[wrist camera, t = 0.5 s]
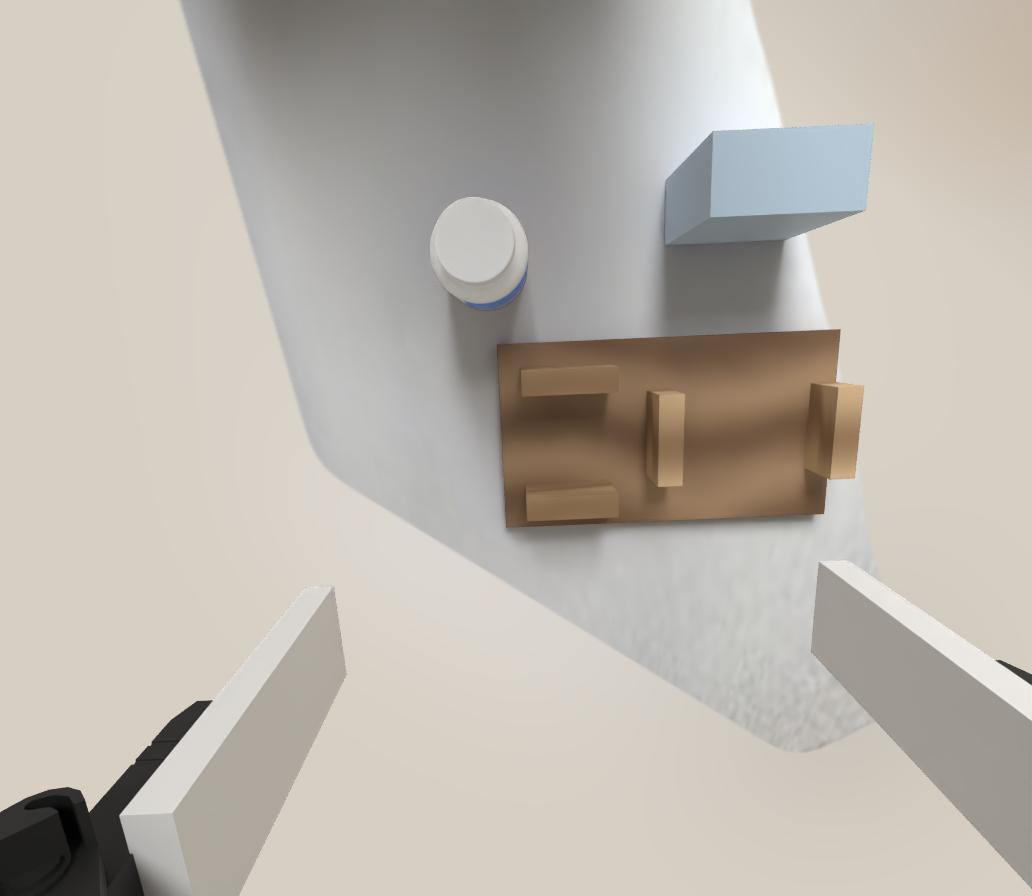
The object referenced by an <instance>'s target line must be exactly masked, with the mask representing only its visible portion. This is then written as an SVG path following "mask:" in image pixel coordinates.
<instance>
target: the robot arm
mask: <svg viewBox="0 0 1032 896" xmlns="http://www.w3.org/2000/svg"><path fill="white" fill-rule="evenodd" d="M811 652H812V653H813V655H814V656H815V657H816V658H817V659H818V660H819V661H820V662H821V663H822V664H823V665H824V666H825V667H826V669H827V670H828V671H829V672H830V673H831V674H832V675H833V676H834V677H835V678H836V679H837V680H838V681H839V682H840V684H841V685H842V686H843V687H844V688H845V689H846V690H847V691H848V692H849V693H850V694H851V695H852V696H853V697H854V699H855V700H856V701H857V702H858V703H859V704H860V705H861V706H862V707H863V708H864V709H865V710H866V711H867V712H868V714H869V715H870V716H871V717H872V718H873V719H874V720H875V721H876V722H877V723H878V724H879V725H880V726H881V727H882V729H883V730H884V731H885V732H886V733H887V734H888V735H889V736H890V737H891V738H892V739H893V740H894V741H895V743H896V744H897V745H898V746H899V747H900V748H901V749H902V750H903V751H904V752H905V753H906V754H907V755H908V756H909V758H910V759H911V760H912V761H913V762H914V763H915V764H916V765H917V766H918V767H919V768H920V769H921V770H922V772H923V773H925V775H926V776H927V777H928V778H929V779H930V780H931V781H932V782H933V783H934V784H935V785H936V787H937V788H938V789H939V790H940V791H941V792H942V793H943V794H944V795H945V796H946V797H947V798H948V799H949V800H950V802H951V803H952V804H953V805H954V806H955V807H956V808H957V809H958V810H959V811H960V812H961V813H962V814H963V816H964V817H965V818H966V819H967V820H968V821H969V822H970V823H971V824H972V825H973V826H974V827H975V828H976V829H977V831H979V833H980V834H981V835H982V836H983V837H984V838H985V839H986V840H987V841H988V842H989V843H990V844H991V846H992V847H993V848H994V849H995V850H996V851H997V852H998V853H999V854H1000V855H1001V856H1002V857H1003V858H1004V859H1005V861H1006V862H1007V863H1008V864H1009V865H1010V866H1011V867H1012V868H1013V869H1014V870H1015V871H1016V872H1017V873H1018V875H1020V876H1021V878H1022V879H1023V880H1024V881H1025V882H1026V883H1027V884H1028V885H1029V886H1030V887H1031V888H1032V674H1030V673H1027V672H1025V671H1023V670H1021V669H1019V668H1016V667H1014V666H1012V665H1010V664H1007V663H1006V662H1003V661H1001V660H993V659H992V658H991V657H989V656H987V655H986V654H985V653H983V652H982V651H980V650H979V649H977V648H976V647H974V646H973V645H972V644H970V643H969V642H967V641H966V640H964V639H963V638H961V637H960V636H958V635H957V634H955V633H954V632H952V631H951V630H950V629H948V628H947V627H945V626H944V625H942V624H941V623H939V622H938V621H936V620H935V619H933V618H932V617H930V616H929V615H927V614H926V613H925V612H923V611H922V610H920V609H919V608H917V607H916V606H914V605H913V604H911V603H910V602H908V601H907V600H906V599H904V598H903V597H901V596H899V595H898V594H897V593H895V592H893V591H892V590H891V589H889V588H888V587H886V586H885V585H883V584H882V583H881V582H879V581H878V580H876V579H875V578H873V577H872V576H870V575H869V574H867V573H866V572H864V571H863V570H861V569H860V568H859V567H857V566H856V565H854V564H853V563H851V562H850V561H848V560H836V561H819V566H818V577H817V588H816V600H815V611H814V622H813V633H812V645H811ZM346 675H347V674H346V667H345V661H344V654H343V647H342V640H341V633H340V626H339V619H338V613H337V606H336V599H335V592H334V586H320V587H305V588H304V590H303V591H302V592H301V594H300V595H299V596H298V597H297V598H296V600H295V601H294V602H293V603H292V604H291V606H290V607H289V608H288V609H287V611H286V612H285V613H284V614H283V615H282V617H281V618H280V619H279V620H278V622H277V623H276V624H275V625H274V627H273V628H272V629H271V630H270V631H269V633H268V634H267V635H266V636H265V638H264V639H263V640H262V641H261V643H260V644H259V645H258V646H257V647H256V649H255V650H254V651H253V652H252V654H251V655H250V656H249V657H248V658H247V660H246V661H245V662H244V663H243V665H242V666H241V667H240V668H239V669H238V671H237V672H236V673H235V674H234V676H233V677H232V678H231V679H230V680H229V682H228V683H227V684H226V685H225V687H224V688H223V689H222V690H221V692H220V693H219V694H218V695H217V697H216V698H215V699H214V700H213V701H212V700H211V701H196V702H195V703H194V704H192V705H191V706H190V707H188V708H187V709H185V710H184V711H183V712H181V713H180V714H179V715H177V716H176V717H175V718H173V719H172V720H171V721H170V722H169V723H168V724H167V725H166V726H165V727H164V728H163V730H162V731H161V732H160V733H159V734H158V735H157V736H156V738H155V739H154V740H153V741H152V745H151V746H148V747H147V748H146V749H145V750H144V751H143V752H142V753H141V754H140V756H139V757H138V758H137V759H136V762H135V764H134V765H131V766H130V767H129V768H128V769H127V770H126V771H125V773H124V774H123V775H122V776H121V777H120V778H119V779H118V781H117V782H116V783H115V784H114V785H113V786H112V787H111V789H110V790H109V791H108V792H107V793H106V794H105V795H104V796H103V797H102V799H101V800H100V801H99V802H98V803H97V804H96V805H95V807H94V808H93V809H92V810H91V811H90V812H88V808H87V805H86V802H85V799H84V797H83V795H82V793H81V791H80V790H76V789H72V788H69V787H66V788H58V789H51V790H47V791H44V792H41V793H39V794H36V795H33V796H30V797H28V798H25V799H23V800H22V801H20V802H18V803H16V804H14V805H12V806H11V807H9V808H7V809H5V810H3V811H1V812H0V896H239V894H240V892H241V890H242V888H243V886H244V884H245V882H246V880H247V878H248V875H249V874H250V872H251V870H252V867H253V865H254V863H255V861H256V859H257V857H258V855H259V853H260V851H261V849H262V847H263V845H264V843H265V840H266V839H267V837H268V835H269V833H270V831H271V829H272V827H273V824H274V822H275V820H276V818H277V816H278V814H279V812H280V810H281V808H282V806H283V804H284V802H285V800H286V798H287V796H288V793H289V792H290V790H291V787H292V785H293V783H294V781H295V779H296V777H297V775H298V773H299V771H300V769H301V767H302V765H303V763H304V761H305V759H306V757H307V754H308V753H309V750H310V748H311V747H312V744H313V742H314V740H315V738H316V736H317V734H318V732H319V730H320V728H321V726H322V724H323V722H324V720H325V718H326V716H327V714H328V712H329V709H330V707H331V705H332V703H333V701H334V699H335V697H336V695H337V693H338V691H339V689H340V687H341V685H342V683H343V681H344V679H345V677H346Z"/></svg>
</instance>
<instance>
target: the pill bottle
mask: <svg viewBox="0 0 1032 896" xmlns="http://www.w3.org/2000/svg"><path fill="white" fill-rule="evenodd" d="M429 250H430V260H431V264H432V267H433V270H434V272H435V274H436V276H437V278H438V280H439V281H440V283H441V284H442V285H443V287H444V288H445V289H446V290H447V291H449V292H450V293H451V294H452V295H454V296H455V297H457V298H458V299H460V300H461V301H462V302H463V303H465V304H466V305H468V306H470V307H472V308H475V309H478V310H496V309H499V308H502V307H504V306H506V305H508V304H509V303H510V302H512V301H513V300H514V299H515V298H516V297H517V296H518V294H519V293H520V291H521V290H522V288H523V286H524V283H525V280H526V276H527V265H528V242H527V238H526V234H525V232H524V229H523V227H522V225H521V223H520V222H519V220H518V219H517V217H516V216H515V215H514V214H513V213H512V212H511V211H510V210H509V209H508V208H506V207H505V206H503V205H502V204H500V203H498V202H495V201H493V200H489V199H484V198H480V197H467V198H462V199H459V200H457V201H455V202H453V203H452V204H450V205H449V206H448V207H447V208H446V209H445V210H444V211H443V212H442V213H441V215H440V216H439V218H438V220H437V222H436V225H435V227H434V229H433V232H432V235H431V239H430V248H429Z"/></svg>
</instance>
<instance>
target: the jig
mask: <svg viewBox="0 0 1032 896" xmlns="http://www.w3.org/2000/svg"><path fill="white" fill-rule="evenodd" d="M839 341H840V329H838V330H813V331H791V332H768V333H746V334H723V335H701V336H679V337H656V338H634V339H612V340H589V341H567V342H544V343H522V344H500V345H497V353H498V373H499V392H500V412H501V432H502V452H503V471H504V491H505V511H506V528H507V527H530V526H554V525H577V524H600V523H623V522H646V521H670V520H693V519H716V518H739V517H762V516H786V515H809V514H824V508H825V497H826V486H827V478H828V479H830V480H831V479H854V478H855V471H856V461H857V452H858V442H859V432H860V431H859V430H860V421H861V412H862V401H863V392H864V386H860V385H853V384H845V383H838V382H836V374H837V363H838V352H839Z"/></svg>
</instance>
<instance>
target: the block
mask: <svg viewBox="0 0 1032 896" xmlns="http://www.w3.org/2000/svg"><path fill="white" fill-rule="evenodd" d="M873 131H874V124H858V125H838V126H836V125H835V126H814V127H794V128H793V127H792V128H771V129H749V130H728V131H713V132H712V133H711V134H710V135H709V136H708V137H707V138H706V139H705V140H704V141H703V142H702V143H701V144H700V145H699V146H698V148H697V149H696V150H695V151H694V152H693V153H692V154H691V155H690V156H689V157H688V158H687V159H686V160H685V161H684V162H683V163H682V164H681V165H680V166H679V167H678V168H677V169H676V170H675V171H674V172H673V174H672V175H671V176H670V177H669V178H668V179H667V180H666V203H665V245H686V244H708V243H730V242H752V241H774V240H786V239H789V238H791V237H794V236H797V235H800V234H802V233H805V232H808V231H810V230H813V229H816V228H818V227H821V226H824V225H827V224H830V223H832V222H835V221H838V220H841V219H843V218H846V217H849V216H852V215H854V214H857V213H860V212H863V211H865V210H866V205H867V194H868V184H869V173H870V163H871V152H872V142H873Z"/></svg>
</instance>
